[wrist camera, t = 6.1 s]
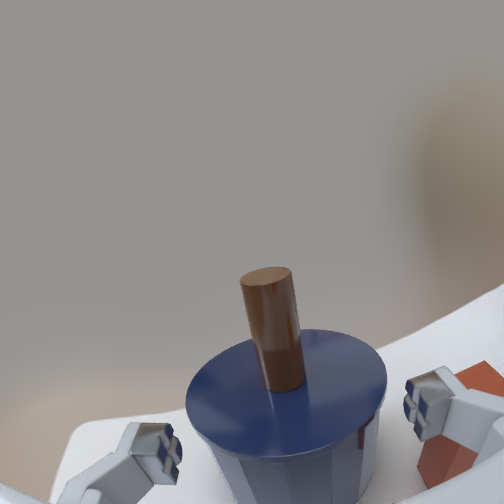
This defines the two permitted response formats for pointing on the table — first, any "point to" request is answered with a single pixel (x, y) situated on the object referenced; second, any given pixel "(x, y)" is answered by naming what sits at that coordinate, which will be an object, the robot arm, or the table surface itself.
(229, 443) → the lid
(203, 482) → the table surface
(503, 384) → the block
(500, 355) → the table surface
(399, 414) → the table surface
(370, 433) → the canister
